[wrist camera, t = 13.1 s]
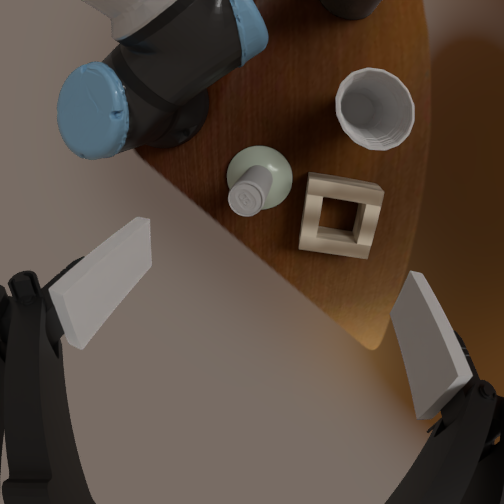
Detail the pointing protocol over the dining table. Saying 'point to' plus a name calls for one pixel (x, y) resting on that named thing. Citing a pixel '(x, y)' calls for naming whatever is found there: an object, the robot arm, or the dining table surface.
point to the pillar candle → (350, 8)
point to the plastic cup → (375, 109)
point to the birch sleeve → (336, 239)
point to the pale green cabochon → (268, 160)
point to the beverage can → (250, 191)
